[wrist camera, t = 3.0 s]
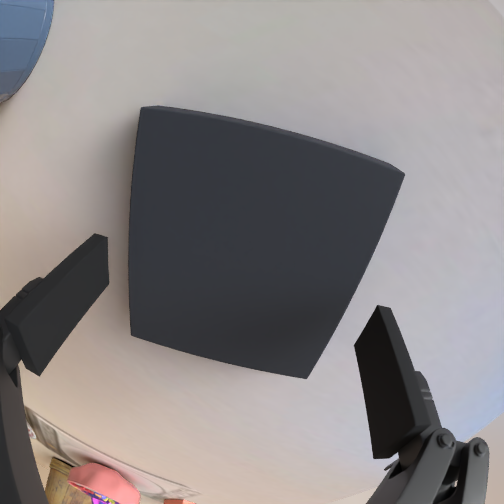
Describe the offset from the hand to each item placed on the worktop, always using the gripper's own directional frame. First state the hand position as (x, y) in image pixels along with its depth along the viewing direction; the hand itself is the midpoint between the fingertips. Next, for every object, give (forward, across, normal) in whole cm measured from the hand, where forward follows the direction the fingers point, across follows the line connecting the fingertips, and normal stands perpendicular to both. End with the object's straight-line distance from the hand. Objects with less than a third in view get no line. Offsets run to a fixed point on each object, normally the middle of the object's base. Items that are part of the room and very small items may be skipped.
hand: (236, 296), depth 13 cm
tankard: (+4, -36, -92) cm, 99 cm away
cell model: (+4, -17, -61) cm, 63 cm away
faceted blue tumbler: (+3, -20, +12) cm, 24 cm away
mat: (+4, 0, 0) cm, 4 cm away
